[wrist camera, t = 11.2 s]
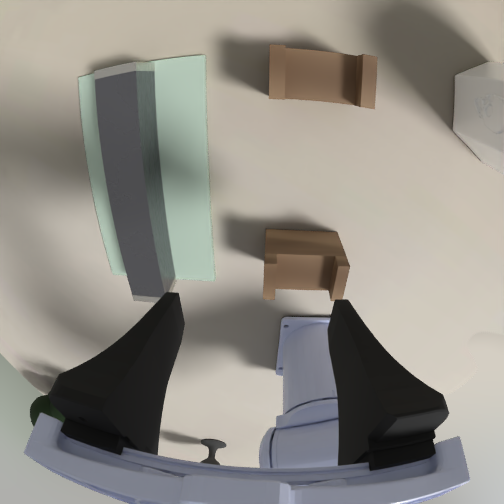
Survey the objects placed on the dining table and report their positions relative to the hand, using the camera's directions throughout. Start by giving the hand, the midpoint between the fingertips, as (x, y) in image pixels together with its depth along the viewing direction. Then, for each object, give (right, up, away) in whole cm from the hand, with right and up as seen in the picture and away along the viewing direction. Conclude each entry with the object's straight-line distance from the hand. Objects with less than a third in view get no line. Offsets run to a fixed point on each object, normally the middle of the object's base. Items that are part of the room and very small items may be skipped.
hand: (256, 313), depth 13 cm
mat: (-8, +8, +8) cm, 14 cm away
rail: (-8, +8, +7) cm, 14 cm away
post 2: (+4, +3, +10) cm, 11 cm away
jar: (+19, +14, +2) cm, 24 cm away
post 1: (+4, +14, +3) cm, 15 cm away
